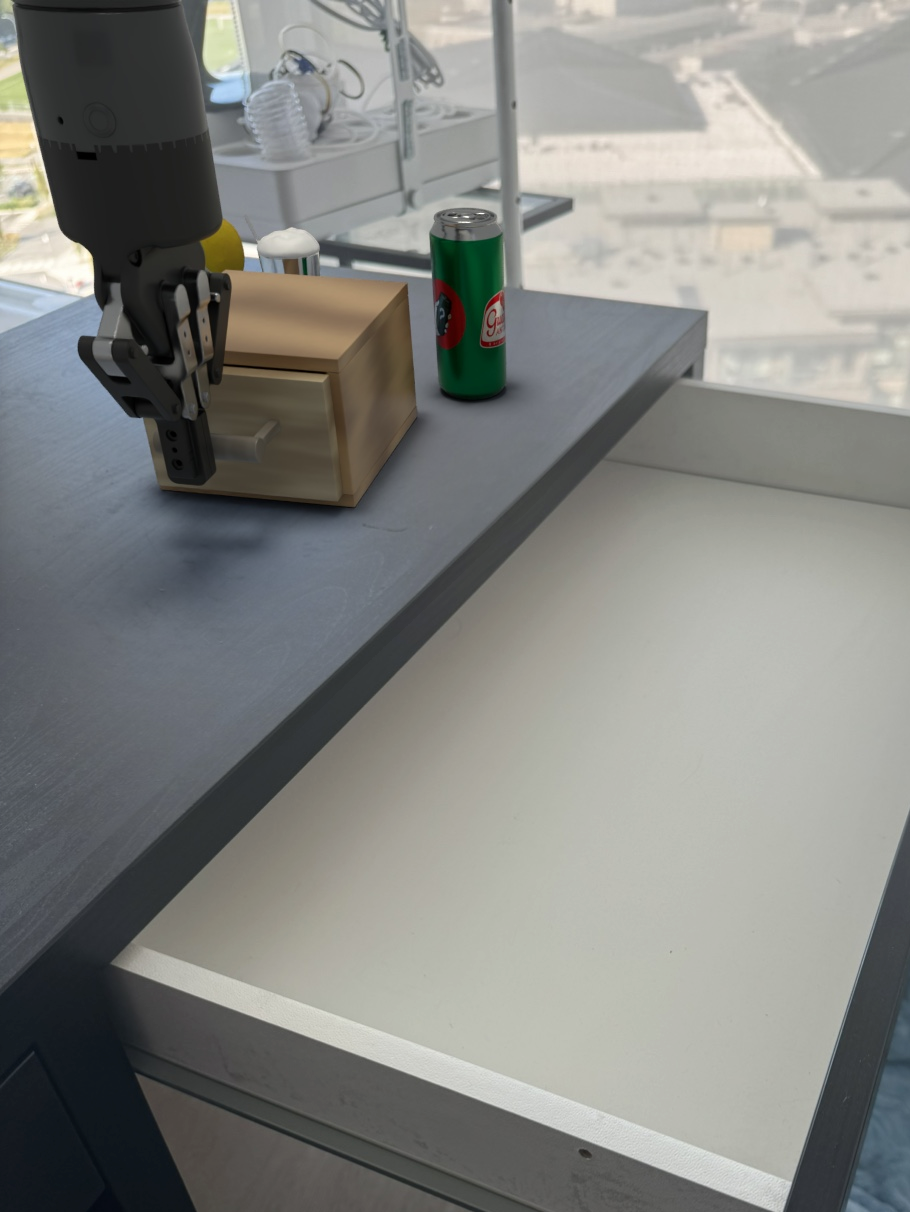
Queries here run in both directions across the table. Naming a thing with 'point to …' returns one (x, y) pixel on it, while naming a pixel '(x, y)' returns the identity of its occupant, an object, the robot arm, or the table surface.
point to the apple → (224, 250)
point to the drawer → (268, 435)
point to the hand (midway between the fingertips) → (193, 479)
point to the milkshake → (288, 252)
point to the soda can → (469, 302)
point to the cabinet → (332, 359)
